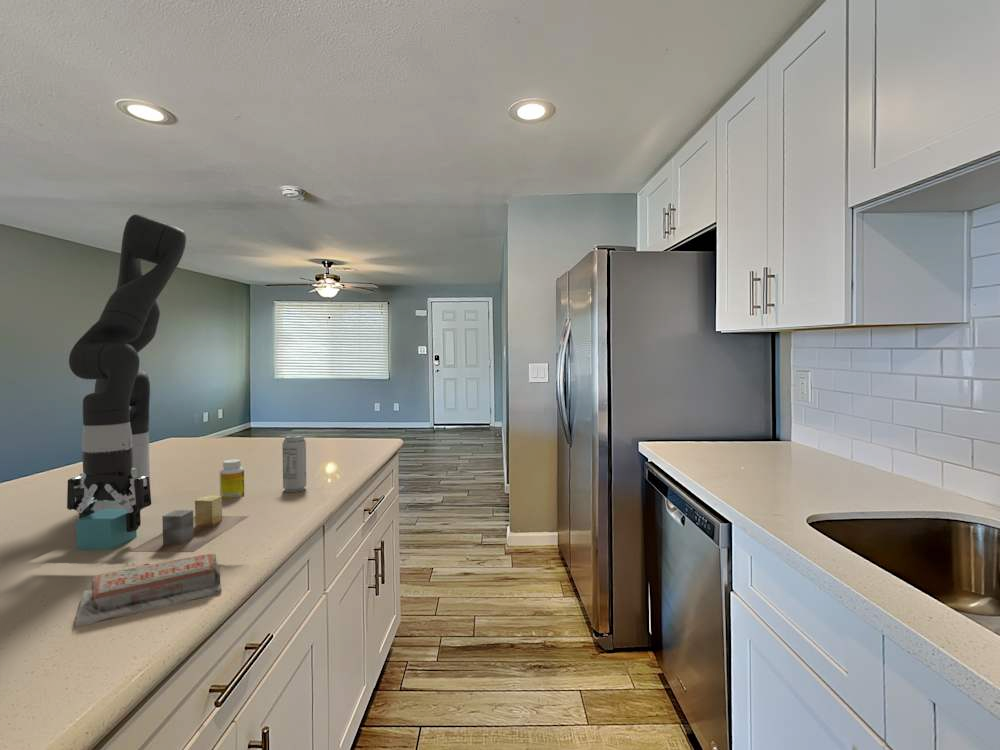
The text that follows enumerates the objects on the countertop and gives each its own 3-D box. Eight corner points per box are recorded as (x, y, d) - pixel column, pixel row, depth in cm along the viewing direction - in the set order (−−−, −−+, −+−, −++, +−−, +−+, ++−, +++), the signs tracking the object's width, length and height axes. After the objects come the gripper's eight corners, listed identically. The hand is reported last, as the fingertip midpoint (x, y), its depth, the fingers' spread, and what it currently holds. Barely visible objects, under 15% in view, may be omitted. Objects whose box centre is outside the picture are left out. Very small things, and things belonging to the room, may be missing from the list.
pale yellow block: (195, 526, 104) (194, 500, 104) (205, 520, 108) (205, 495, 108) (212, 526, 104) (212, 500, 104) (222, 520, 108) (221, 495, 108)
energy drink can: (310, 488, 139) (310, 435, 138) (291, 493, 134) (291, 439, 133) (297, 485, 142) (297, 433, 142) (278, 490, 137) (277, 436, 137)
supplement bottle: (246, 500, 128) (246, 461, 127) (222, 504, 124) (221, 464, 124) (241, 495, 132) (241, 457, 132) (218, 499, 129) (217, 460, 128)
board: (128, 559, 91) (127, 521, 91) (195, 522, 111) (195, 491, 111) (193, 559, 91) (192, 522, 91) (248, 522, 111) (248, 491, 111)
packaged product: (216, 545, 87) (221, 566, 78) (216, 572, 87) (222, 596, 79) (82, 570, 77) (72, 596, 68) (83, 600, 77) (73, 631, 69)
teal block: (77, 557, 92) (76, 519, 92) (104, 543, 98) (103, 509, 98) (111, 557, 92) (110, 520, 92) (136, 544, 98) (135, 509, 98)
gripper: (52, 450, 91) (55, 538, 91) (130, 450, 91) (133, 537, 91) (86, 443, 98) (89, 524, 99) (158, 443, 98) (161, 524, 99)
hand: (110, 530), depth 95 cm, fingers open, 8 cm apart
